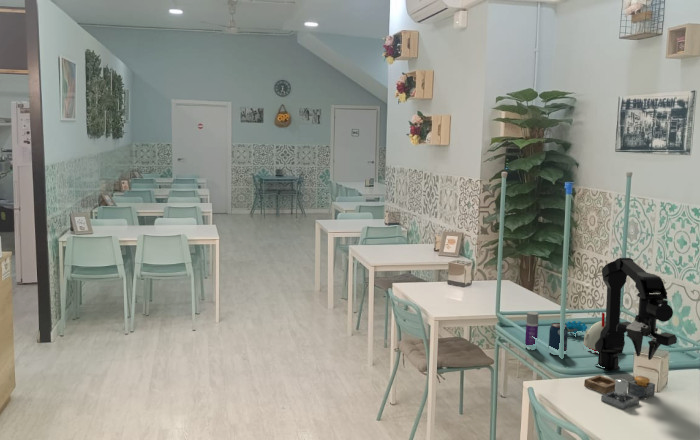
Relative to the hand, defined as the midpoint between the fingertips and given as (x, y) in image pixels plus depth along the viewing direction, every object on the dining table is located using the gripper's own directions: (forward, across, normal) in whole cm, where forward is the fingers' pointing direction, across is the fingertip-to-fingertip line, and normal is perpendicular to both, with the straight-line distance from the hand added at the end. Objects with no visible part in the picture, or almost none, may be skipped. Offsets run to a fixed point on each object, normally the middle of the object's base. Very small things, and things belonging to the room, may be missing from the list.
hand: (643, 357), depth 226 cm
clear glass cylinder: (+13, 0, -12) cm, 18 cm away
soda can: (+13, -42, +9) cm, 45 cm away
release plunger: (+11, 0, 0) cm, 11 cm away
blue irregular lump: (+13, -54, +35) cm, 65 cm away
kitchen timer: (+13, -36, +29) cm, 48 cm away
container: (+13, -52, +5) cm, 54 cm away
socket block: (+13, 0, -7) cm, 15 cm away
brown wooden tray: (+13, -11, -6) cm, 18 cm away
